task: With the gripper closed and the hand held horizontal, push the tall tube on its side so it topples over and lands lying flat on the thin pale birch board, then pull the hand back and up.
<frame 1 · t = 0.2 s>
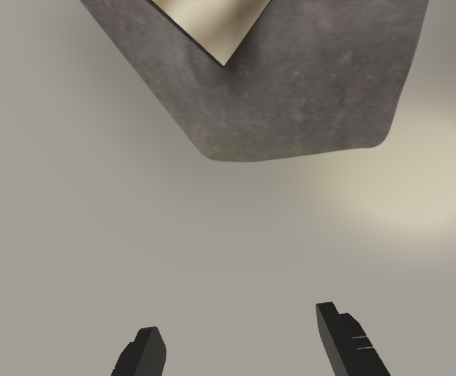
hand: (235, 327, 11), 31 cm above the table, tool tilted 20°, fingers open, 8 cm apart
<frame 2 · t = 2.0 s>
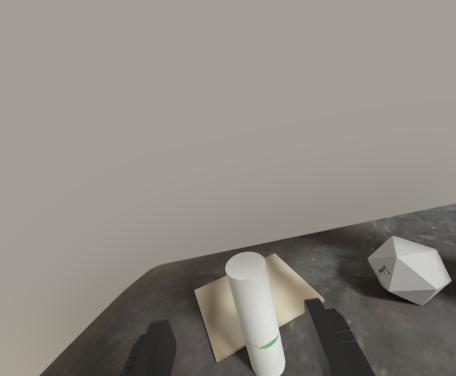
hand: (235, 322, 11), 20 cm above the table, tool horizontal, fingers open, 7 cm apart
die: (405, 290, 32), on the table
birch board: (252, 296, 37), on the table
tube: (268, 361, 27), on the table
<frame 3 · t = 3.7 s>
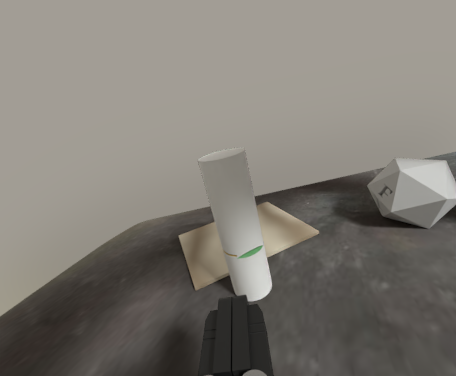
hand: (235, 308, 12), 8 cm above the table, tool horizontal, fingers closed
die: (409, 219, 29), on the table
birch board: (240, 235, 34), on the table
tube: (252, 286, 24), on the table
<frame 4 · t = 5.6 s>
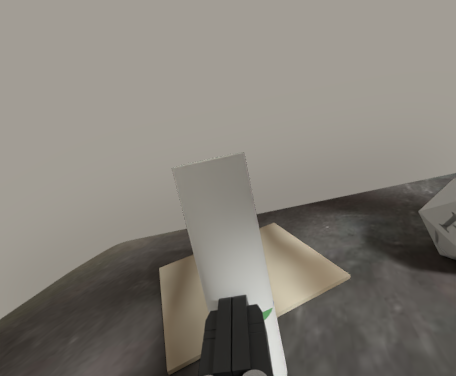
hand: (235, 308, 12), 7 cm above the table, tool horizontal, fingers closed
birch board: (240, 273, 25), on the table
tube: (256, 372, 15), on the table
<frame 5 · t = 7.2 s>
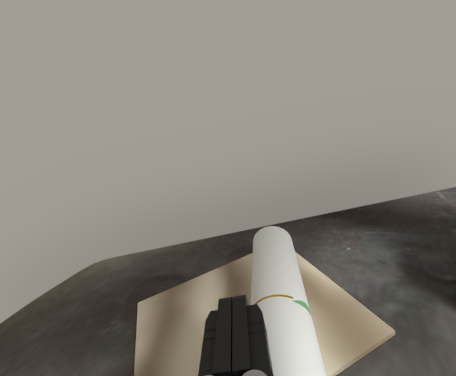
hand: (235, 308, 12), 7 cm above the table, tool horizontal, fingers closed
birch board: (240, 317, 19), on the table
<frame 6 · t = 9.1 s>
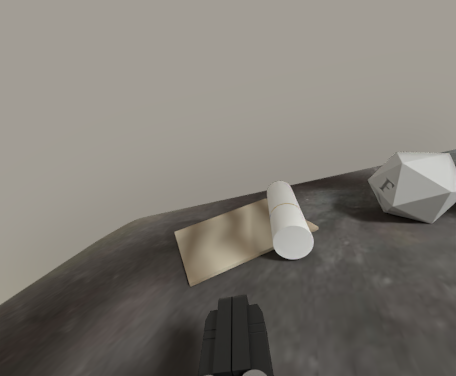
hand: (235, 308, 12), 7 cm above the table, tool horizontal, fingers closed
die: (411, 214, 28), on the table
birch board: (238, 231, 33), on the table
tube: (293, 244, 23), point 3 cm above the table, touching birch board
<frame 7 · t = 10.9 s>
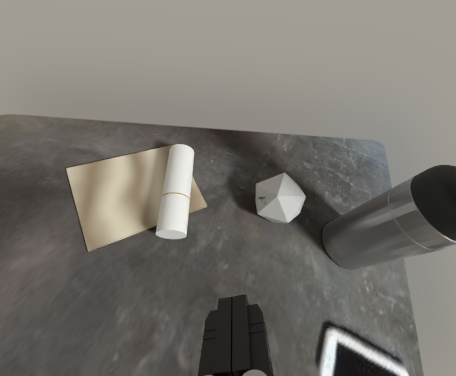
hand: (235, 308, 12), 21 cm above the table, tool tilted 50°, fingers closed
die: (268, 208, 41), on the table
birch board: (139, 189, 36), on the table
tube: (171, 236, 31), point 3 cm above the table, touching birch board
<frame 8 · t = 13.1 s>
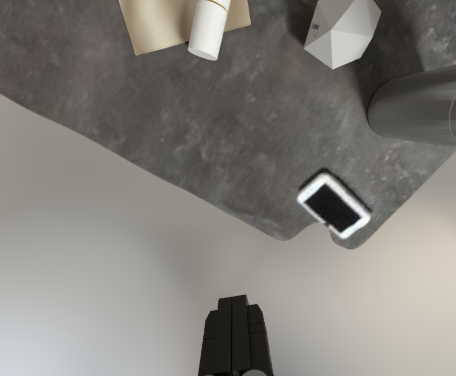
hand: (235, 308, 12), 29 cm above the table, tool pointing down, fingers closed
die: (327, 40, 32), on the table
tube: (202, 56, 31), point 3 cm above the table, touching birch board
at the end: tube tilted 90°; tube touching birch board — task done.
